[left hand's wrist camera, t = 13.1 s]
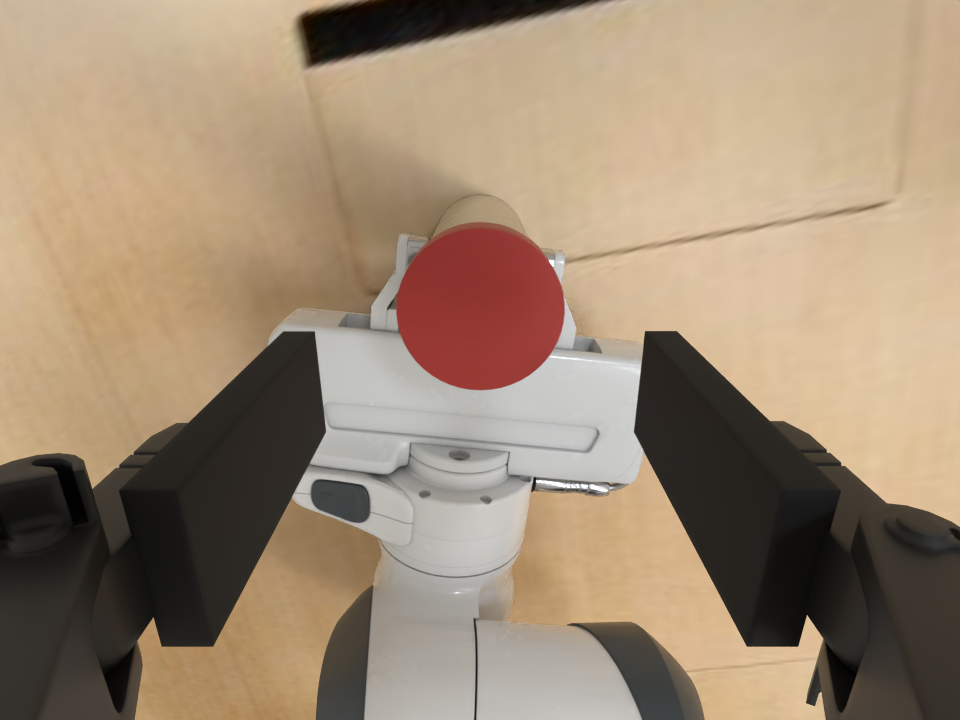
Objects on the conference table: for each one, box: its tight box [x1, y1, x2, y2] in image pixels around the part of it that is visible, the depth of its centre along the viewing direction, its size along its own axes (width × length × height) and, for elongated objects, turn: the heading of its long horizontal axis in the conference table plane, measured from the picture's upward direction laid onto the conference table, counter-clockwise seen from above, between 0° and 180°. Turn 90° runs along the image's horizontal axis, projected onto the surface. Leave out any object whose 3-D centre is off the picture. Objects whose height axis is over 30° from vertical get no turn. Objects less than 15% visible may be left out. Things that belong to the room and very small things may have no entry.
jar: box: [431, 195, 529, 239], centre depth 27 cm, size 5×5×15 cm
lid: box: [396, 222, 565, 390], centre depth 20 cm, size 6×6×2 cm
